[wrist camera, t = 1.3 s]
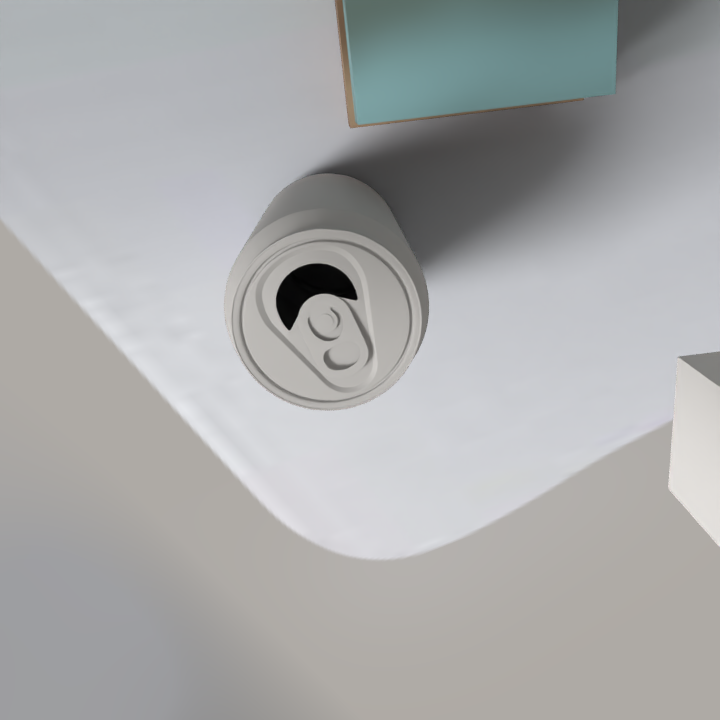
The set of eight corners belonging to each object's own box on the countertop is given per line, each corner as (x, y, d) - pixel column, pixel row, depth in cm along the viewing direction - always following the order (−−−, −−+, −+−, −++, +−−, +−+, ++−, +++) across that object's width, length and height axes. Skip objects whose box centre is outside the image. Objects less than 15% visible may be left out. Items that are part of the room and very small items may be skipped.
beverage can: (363, 146, 29) (382, 175, 17) (419, 275, 31) (467, 373, 20) (235, 208, 29) (174, 272, 18) (298, 330, 32) (279, 453, 20)
